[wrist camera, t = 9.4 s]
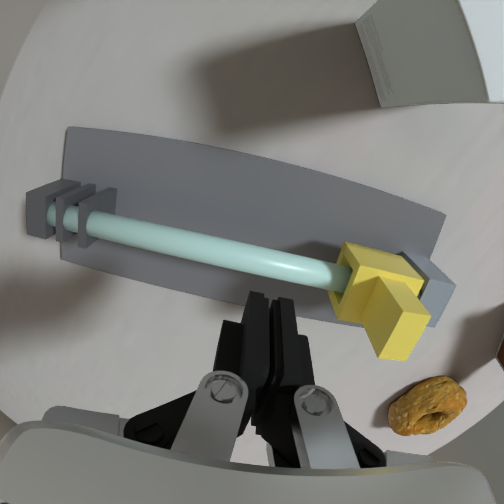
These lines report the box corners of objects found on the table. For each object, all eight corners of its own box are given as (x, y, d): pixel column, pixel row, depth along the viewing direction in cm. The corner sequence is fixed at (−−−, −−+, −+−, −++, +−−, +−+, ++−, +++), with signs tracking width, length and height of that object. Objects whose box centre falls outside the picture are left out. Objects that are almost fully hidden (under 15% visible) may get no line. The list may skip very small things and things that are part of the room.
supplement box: (378, 110, 20) (486, 105, 8) (352, 21, 17) (428, -54, 6) (453, 102, 19) (568, 106, 7) (430, 20, 16) (529, -22, 5)
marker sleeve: (344, 241, 21) (382, 300, 14) (401, 256, 22) (453, 313, 14) (326, 289, 23) (351, 361, 15) (382, 300, 23) (421, 367, 16)
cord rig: (71, 126, 21) (29, 130, 15) (442, 213, 23) (479, 235, 18) (65, 256, 25) (31, 284, 20) (392, 328, 27) (412, 366, 22)
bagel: (395, 381, 30) (408, 411, 26) (467, 364, 30) (483, 388, 26) (377, 427, 34) (385, 455, 30) (443, 411, 34) (454, 435, 30)
